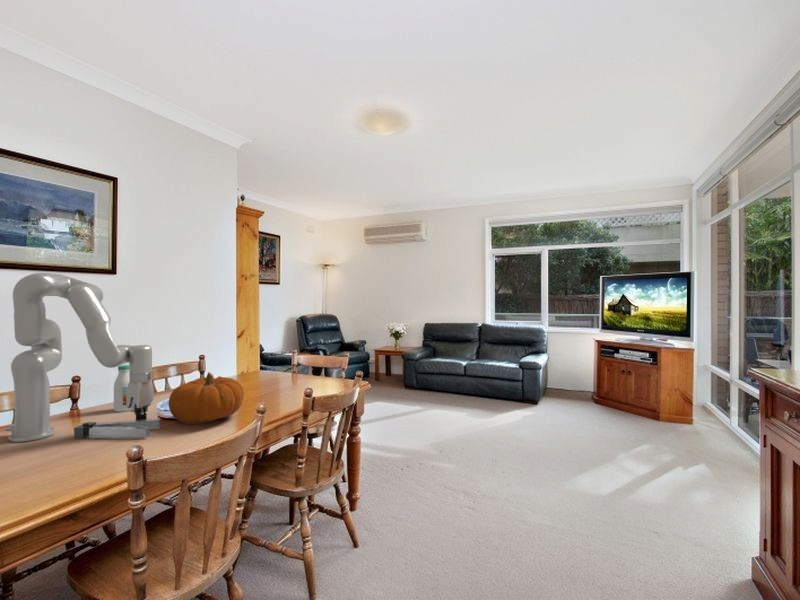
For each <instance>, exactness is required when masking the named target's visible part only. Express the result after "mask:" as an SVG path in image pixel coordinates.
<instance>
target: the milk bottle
mask: <svg viewBox="0 0 800 600" xmlns="http://www.w3.org/2000/svg"><path fill="white" fill-rule="evenodd" d="M117 371H118V372H117V373H118V374H117V377H116V378H115V379H114V384H113V410H114V411H113V412H116V413H118V412H119V413H122V412H127V411H128V412H129V411H131V408H127V406H126V400H127V388H128V384H129V364H122V365H119V366H117Z"/></svg>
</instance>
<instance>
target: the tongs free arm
mask: <svg viewBox="0 0 800 600" xmlns="http://www.w3.org/2000/svg"><path fill="white" fill-rule="evenodd" d="M96 427H150V431H151V430H160V428H161V418H160V417H159V418H147V419H144V420H136V419H133V420H120V421H119V420H118V421H107V422H106V421H105V422H98V423H97V424H96Z"/></svg>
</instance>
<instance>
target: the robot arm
mask: <svg viewBox="0 0 800 600" xmlns="http://www.w3.org/2000/svg"><path fill="white" fill-rule="evenodd" d="M44 297H58V298H61V299H66V300H67V301H68V302H69V304H70V306H71V308H72V309H73V310H74V312H75V314H76V315H77V317H78V318H79V320H80V322H81V324H82V325H83V327H84V329H85V335H86V339H87V343H88V347H89V348H90V350H91V352H92V353H93V355H94V357H95V359H96V360H97V361H98V362H99V364H101V365H102V366H103V367H106V368H108V369H109V368H111V369H112V368H118V366H120V365H126V364H128V365H129V384H128V388H127V400H126V406H127V408H131V410H130V413H134V415H135V420H144V419H148V418H147V416H148V415H147V413H148V409H149V407H150V406H151V404H152V403H153V402H154V385H153V348H152V346H151V345H149V344H139V345H130V344H117V345H116V343H115V342H114V340H113V338H112V335H111V334H110V332H111V331H110V325H111V321H112V320H111V319H112V318H111V316H110V314H109V313H108V311H107V310H106V308H105V307H104V305H103V303H102V301H103V299H104V292H103V290H102V289H101V288H100V287H99V286H97V285H96V284H92V283H90V282H89V283H88V282H86V281H83V280H80V279H77V278H73V277H70V276H68V275H64V274H60V273H51V272H37V273H36V272H35V273H31V274H29V275H26V276H24V277H22V278H21V279H19V280H18V281H17V282H16V284H15V285H14V288H13V290H12V301H13V302H12V303H13V324H14V325H13V327H14V328H13V329H14V339H15V341H16V343H18V344H19V345H20V346H23V347H30V349H27V350H24V351H22V352H20V353H18V354H17V355H16V356H15V357H14V358H13V359H12V361H11V363H10V371H11V376H12V380H13V390H14V391H13V393H14V395H13V396H14V423H11V424H8V427H6V428H5V432H11V434H10V435H9V436H8V441H9V442H12V443H13V442H14V443H22V442H31V441H35V440H41V439H44V438H47V437H50V436H52V435H53V434H55V433H56V428H55V427H51V402H50V401H51V391H50V387H51V386H50V380H49V377H48V372H50V371H53V370H55V369H56V368H57V367H59V366H60V364H61V362H62V357H63V349H62V347H63V346H62V332H61V328H60V326H59V324H58V323H56V322H55V321H54V320H51V319H48V318H47V316H46V315H47V314H46V310H47V309H46V306H45V303H44V301H43V300H44V299H43V298H44Z"/></svg>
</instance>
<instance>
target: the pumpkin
mask: <svg viewBox="0 0 800 600" xmlns="http://www.w3.org/2000/svg"><path fill="white" fill-rule="evenodd" d="M206 374H207V375H206V377H204V378H196V379H194V380H191V381H188V382H187V383H183V384H180V385H179V386H177V387H175V388H174V389H173V390H172V392H171V393H170V395H169V398H168V409H169V412H170V413H171V415H172V417H173V418H175V419H176V420H177V421H178V422H180V423H183V424H188V425H199V424H206V423H209V422H212V421H215V420H219V419H224V418H228V417H230V416H232V415H234V414H235V413H237V412H238V410H239V409H241V406H242V404H243V401H244V397H245V389H244V387H243V385H242V384H241V383H240V382H239V380H237V379H234V378H233V377H226V376H224V377H223V376H217V377H216V378H215V377H214V375H213V373H211V372H210V371H208V372H207V373H206Z"/></svg>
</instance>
